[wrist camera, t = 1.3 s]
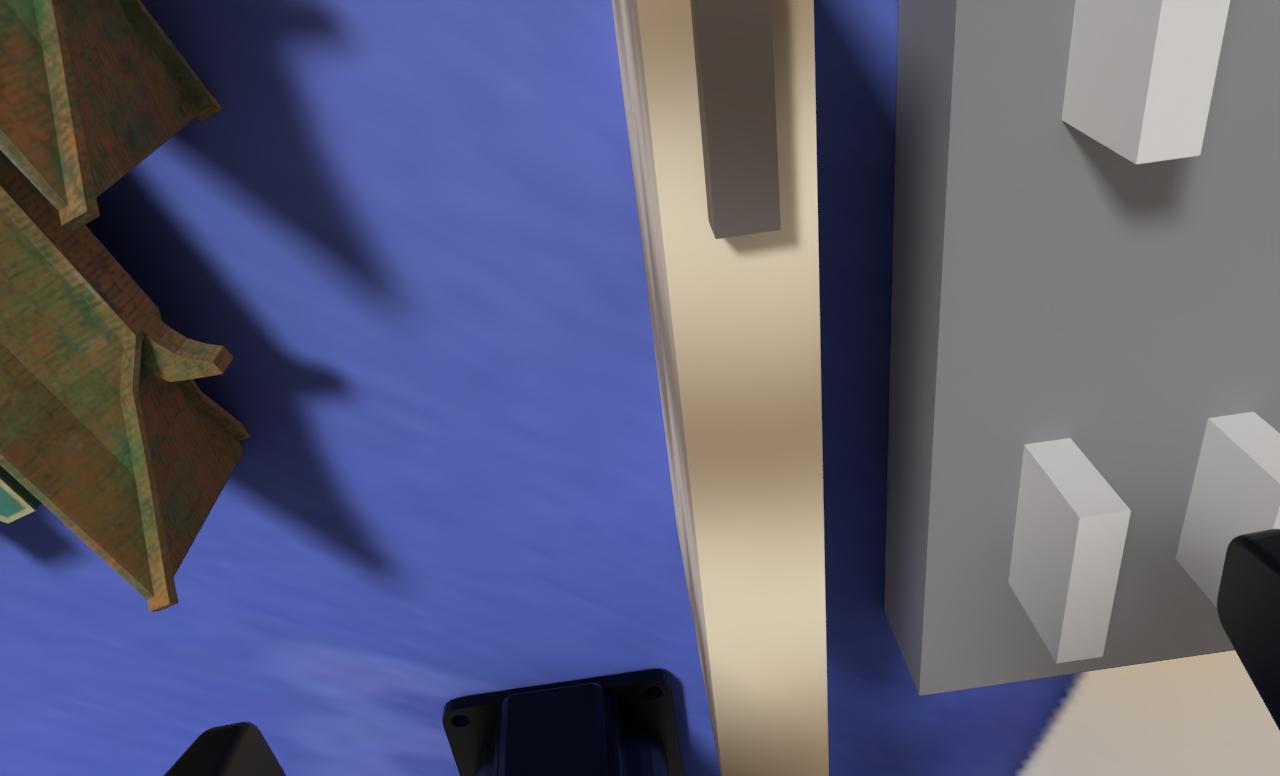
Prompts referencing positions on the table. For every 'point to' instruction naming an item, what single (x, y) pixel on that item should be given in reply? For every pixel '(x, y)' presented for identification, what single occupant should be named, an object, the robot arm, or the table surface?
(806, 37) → the birch door
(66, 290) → the miniature gate
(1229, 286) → the hinge plinth
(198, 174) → the table surface
